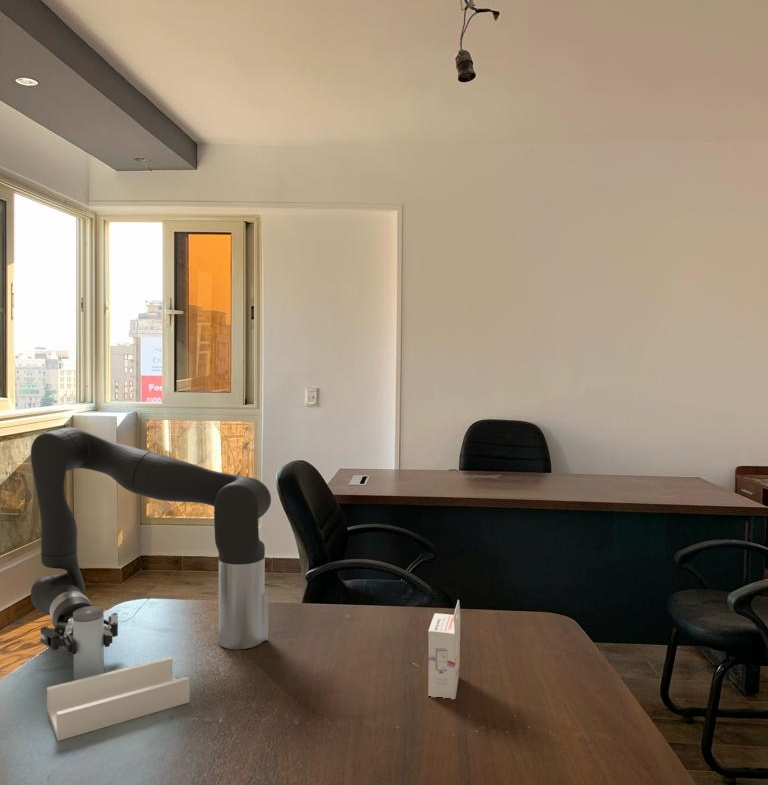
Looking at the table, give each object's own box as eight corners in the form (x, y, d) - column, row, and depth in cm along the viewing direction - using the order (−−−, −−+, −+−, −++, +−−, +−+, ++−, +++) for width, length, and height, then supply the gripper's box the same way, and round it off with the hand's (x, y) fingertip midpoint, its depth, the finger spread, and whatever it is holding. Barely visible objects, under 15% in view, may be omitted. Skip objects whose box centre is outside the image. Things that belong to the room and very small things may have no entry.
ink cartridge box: (432, 674, 120) (434, 596, 119) (459, 677, 119) (461, 598, 118) (426, 697, 111) (428, 613, 111) (455, 700, 110) (457, 616, 110)
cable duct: (170, 678, 117) (170, 656, 117) (189, 702, 109) (189, 678, 108) (47, 711, 105) (46, 687, 105) (57, 741, 97) (57, 714, 97)
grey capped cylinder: (100, 667, 121) (100, 604, 120) (106, 678, 117) (106, 612, 116) (71, 674, 118) (70, 609, 117) (76, 685, 114) (76, 618, 113)
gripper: (32, 603, 125) (46, 633, 111) (110, 589, 133) (133, 615, 119) (32, 641, 125) (46, 676, 111) (111, 625, 133) (133, 655, 119)
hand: (91, 645), depth 115 cm, fingers closed on grey capped cylinder, 5 cm apart
